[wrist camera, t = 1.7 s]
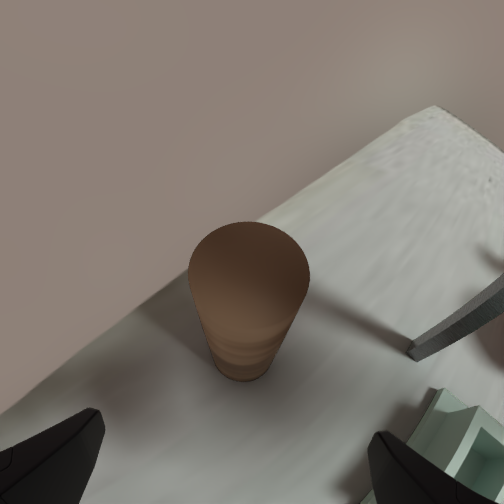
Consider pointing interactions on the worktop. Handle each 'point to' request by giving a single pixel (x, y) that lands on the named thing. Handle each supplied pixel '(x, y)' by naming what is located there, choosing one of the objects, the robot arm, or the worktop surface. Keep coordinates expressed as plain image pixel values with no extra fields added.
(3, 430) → the worktop surface
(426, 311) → the worktop surface
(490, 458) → the socket block
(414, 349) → the grey table frame
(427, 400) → the worktop surface
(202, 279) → the peg
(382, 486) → the robot arm
